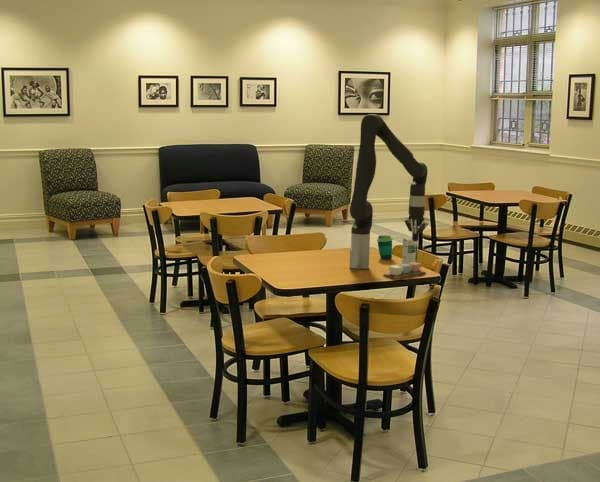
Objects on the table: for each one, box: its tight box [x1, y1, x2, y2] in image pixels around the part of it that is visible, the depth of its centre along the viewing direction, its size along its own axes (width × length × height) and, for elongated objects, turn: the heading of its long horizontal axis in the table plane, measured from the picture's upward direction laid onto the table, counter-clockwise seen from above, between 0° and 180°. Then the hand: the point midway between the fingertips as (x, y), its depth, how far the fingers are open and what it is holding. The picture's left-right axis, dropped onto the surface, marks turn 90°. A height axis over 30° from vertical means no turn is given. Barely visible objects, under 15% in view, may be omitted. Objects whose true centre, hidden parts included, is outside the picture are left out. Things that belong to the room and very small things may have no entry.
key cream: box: [388, 264, 403, 275], centre depth 378 cm, size 5×5×4 cm
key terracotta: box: [407, 262, 422, 273], centre depth 386 cm, size 5×5×4 cm
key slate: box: [397, 263, 412, 274], centre depth 382 cm, size 5×5×4 cm
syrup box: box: [401, 237, 419, 264], centre depth 401 cm, size 6×6×14 cm
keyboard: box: [383, 270, 427, 281], centre depth 382 cm, size 20×9×1 cm, turn 131°
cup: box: [376, 234, 393, 261], centre depth 420 cm, size 8×8×12 cm
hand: (415, 240), depth 384 cm, fingers closed
